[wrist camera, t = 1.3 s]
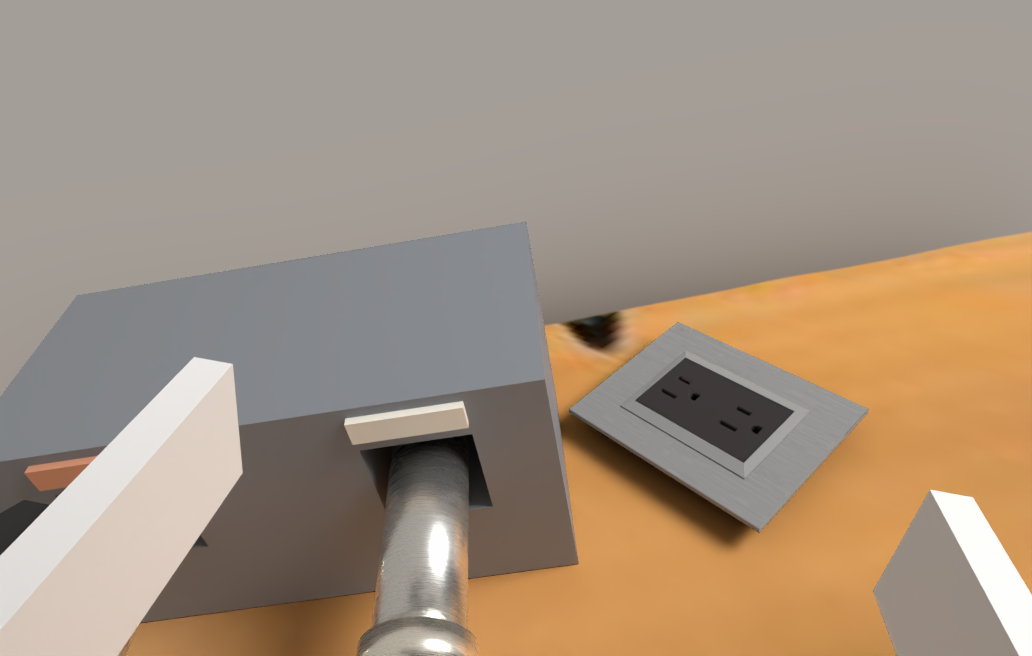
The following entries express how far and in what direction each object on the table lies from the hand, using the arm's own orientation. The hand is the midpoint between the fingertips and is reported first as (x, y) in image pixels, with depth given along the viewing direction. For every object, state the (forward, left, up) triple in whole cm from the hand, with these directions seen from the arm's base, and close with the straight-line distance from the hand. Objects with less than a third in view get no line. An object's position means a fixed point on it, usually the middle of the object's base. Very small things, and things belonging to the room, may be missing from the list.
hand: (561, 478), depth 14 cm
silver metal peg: (+5, -10, -16) cm, 19 cm away
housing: (+10, -21, -22) cm, 32 cm away
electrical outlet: (-12, -19, -22) cm, 32 cm away
